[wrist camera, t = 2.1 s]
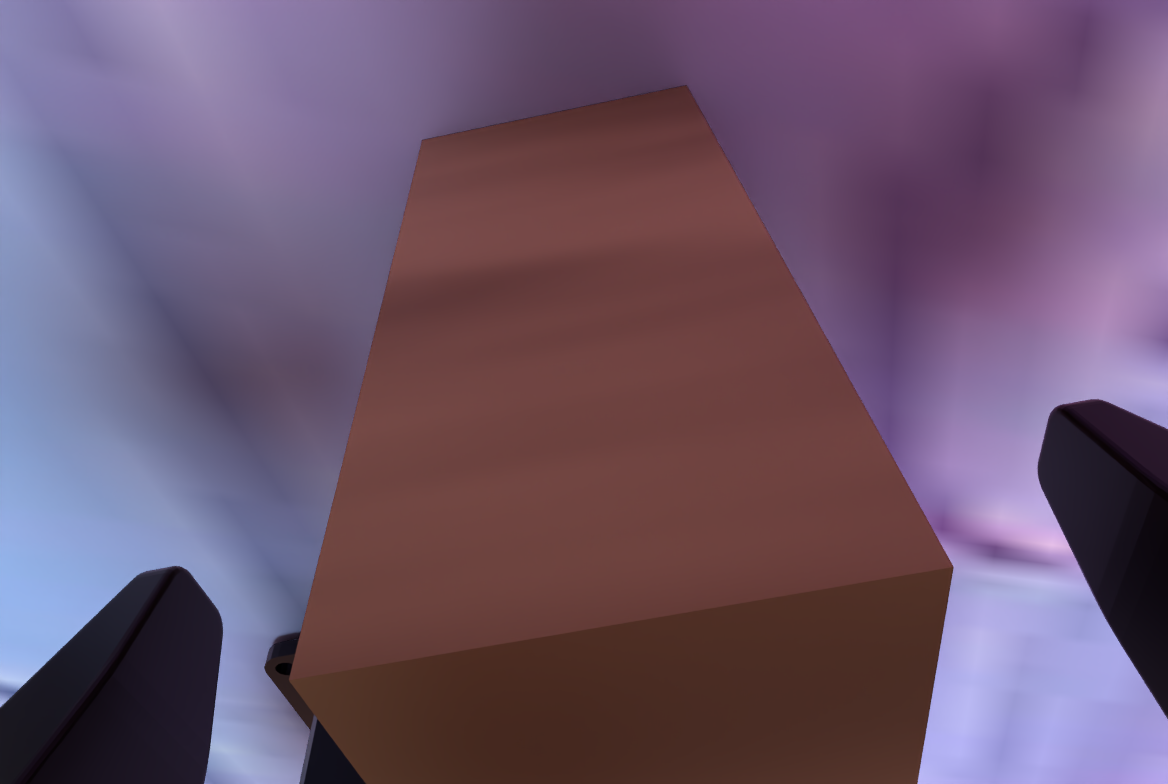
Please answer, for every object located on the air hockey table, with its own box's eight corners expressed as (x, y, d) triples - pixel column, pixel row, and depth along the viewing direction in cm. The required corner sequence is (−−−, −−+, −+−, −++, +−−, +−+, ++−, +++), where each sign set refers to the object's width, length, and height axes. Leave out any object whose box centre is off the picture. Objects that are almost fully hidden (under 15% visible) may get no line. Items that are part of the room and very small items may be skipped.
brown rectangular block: (708, 311, 14) (905, 853, 7) (489, 353, 14) (466, 919, 7) (686, 85, 12) (954, 566, 5) (422, 140, 12) (288, 679, 5)
